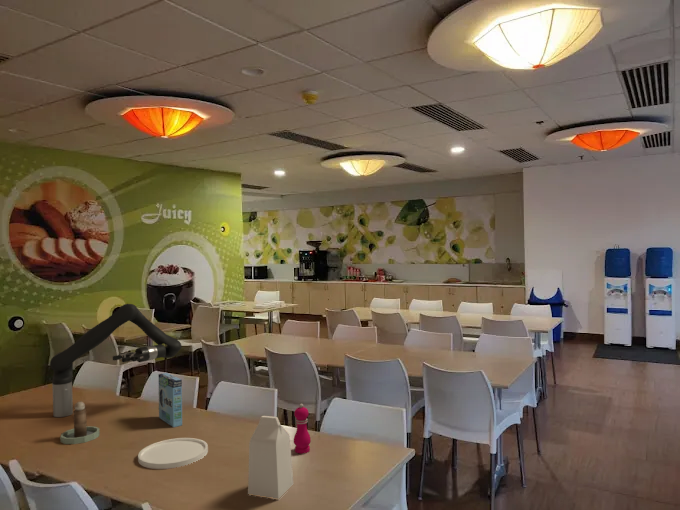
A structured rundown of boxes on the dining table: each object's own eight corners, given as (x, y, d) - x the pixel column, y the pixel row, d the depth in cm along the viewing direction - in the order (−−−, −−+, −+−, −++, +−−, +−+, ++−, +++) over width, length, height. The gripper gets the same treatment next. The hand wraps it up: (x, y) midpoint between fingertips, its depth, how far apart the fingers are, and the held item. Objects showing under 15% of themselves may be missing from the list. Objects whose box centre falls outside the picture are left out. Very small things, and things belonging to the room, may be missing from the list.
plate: (137, 450, 222) (136, 444, 222) (202, 439, 233) (202, 433, 233) (139, 475, 196) (139, 469, 196) (213, 461, 207) (213, 455, 207)
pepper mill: (313, 448, 217) (312, 401, 217) (307, 455, 211) (305, 406, 210) (298, 446, 220) (296, 400, 220) (291, 453, 213) (289, 405, 213)
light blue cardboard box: (158, 418, 263) (157, 374, 263) (168, 416, 266) (167, 372, 266) (173, 427, 248) (172, 380, 248) (183, 425, 251) (182, 379, 251)
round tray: (54, 439, 236) (54, 434, 236) (88, 429, 249) (88, 424, 249) (71, 446, 227) (71, 441, 227) (105, 435, 239) (105, 430, 239)
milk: (247, 495, 177) (245, 420, 177) (264, 480, 188) (262, 410, 188) (278, 500, 173) (276, 423, 173) (293, 485, 184) (291, 413, 183)
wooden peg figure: (72, 436, 237) (71, 402, 237) (83, 433, 242) (82, 399, 241) (77, 438, 234) (76, 404, 234) (88, 435, 238) (88, 401, 238)
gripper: (138, 345, 275) (109, 350, 262) (153, 347, 267) (125, 353, 254) (139, 359, 275) (110, 365, 262) (154, 362, 267) (125, 368, 254)
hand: (117, 359), depth 258 cm, fingers open, 8 cm apart
